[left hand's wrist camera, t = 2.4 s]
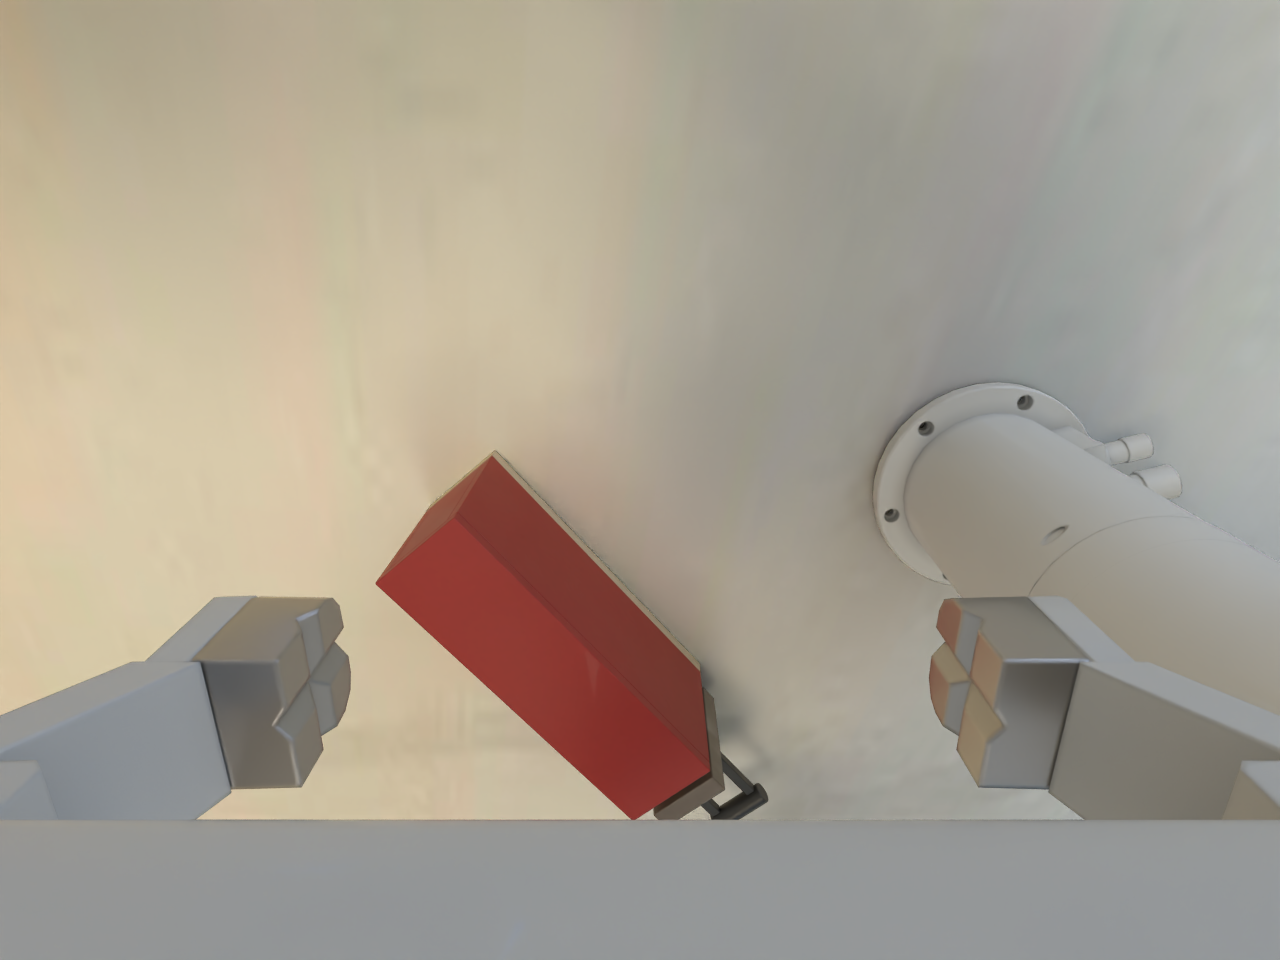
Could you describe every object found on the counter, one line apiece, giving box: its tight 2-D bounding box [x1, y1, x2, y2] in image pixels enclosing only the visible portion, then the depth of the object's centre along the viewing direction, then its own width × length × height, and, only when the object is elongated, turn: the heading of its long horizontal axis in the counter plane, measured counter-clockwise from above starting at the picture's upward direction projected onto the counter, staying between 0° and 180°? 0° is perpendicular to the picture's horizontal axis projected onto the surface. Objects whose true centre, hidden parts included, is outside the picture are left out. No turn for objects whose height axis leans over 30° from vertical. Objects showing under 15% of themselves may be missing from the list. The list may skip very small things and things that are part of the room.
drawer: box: [654, 688, 768, 820], centre depth 44 cm, size 24×4×8 cm, turn 40°
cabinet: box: [376, 451, 710, 820], centre depth 43 cm, size 19×6×10 cm, turn 40°
